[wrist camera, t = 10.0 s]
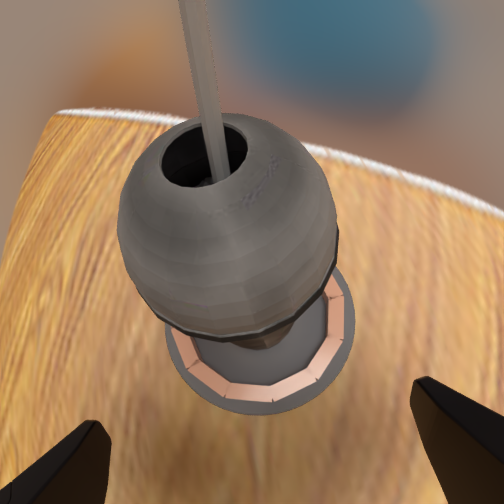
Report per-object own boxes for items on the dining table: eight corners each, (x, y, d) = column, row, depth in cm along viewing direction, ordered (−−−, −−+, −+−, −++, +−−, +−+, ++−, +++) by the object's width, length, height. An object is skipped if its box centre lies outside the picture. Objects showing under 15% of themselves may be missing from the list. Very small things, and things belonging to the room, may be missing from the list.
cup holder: (349, 418, 18) (355, 420, 16) (156, 400, 20) (146, 400, 18) (351, 239, 23) (355, 227, 22) (183, 232, 25) (177, 221, 23)
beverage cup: (188, 348, 20) (-95, 134, 3) (227, 254, 23) (118, -44, 5) (292, 385, 19) (445, 195, 1) (325, 282, 22) (396, -56, 4)
